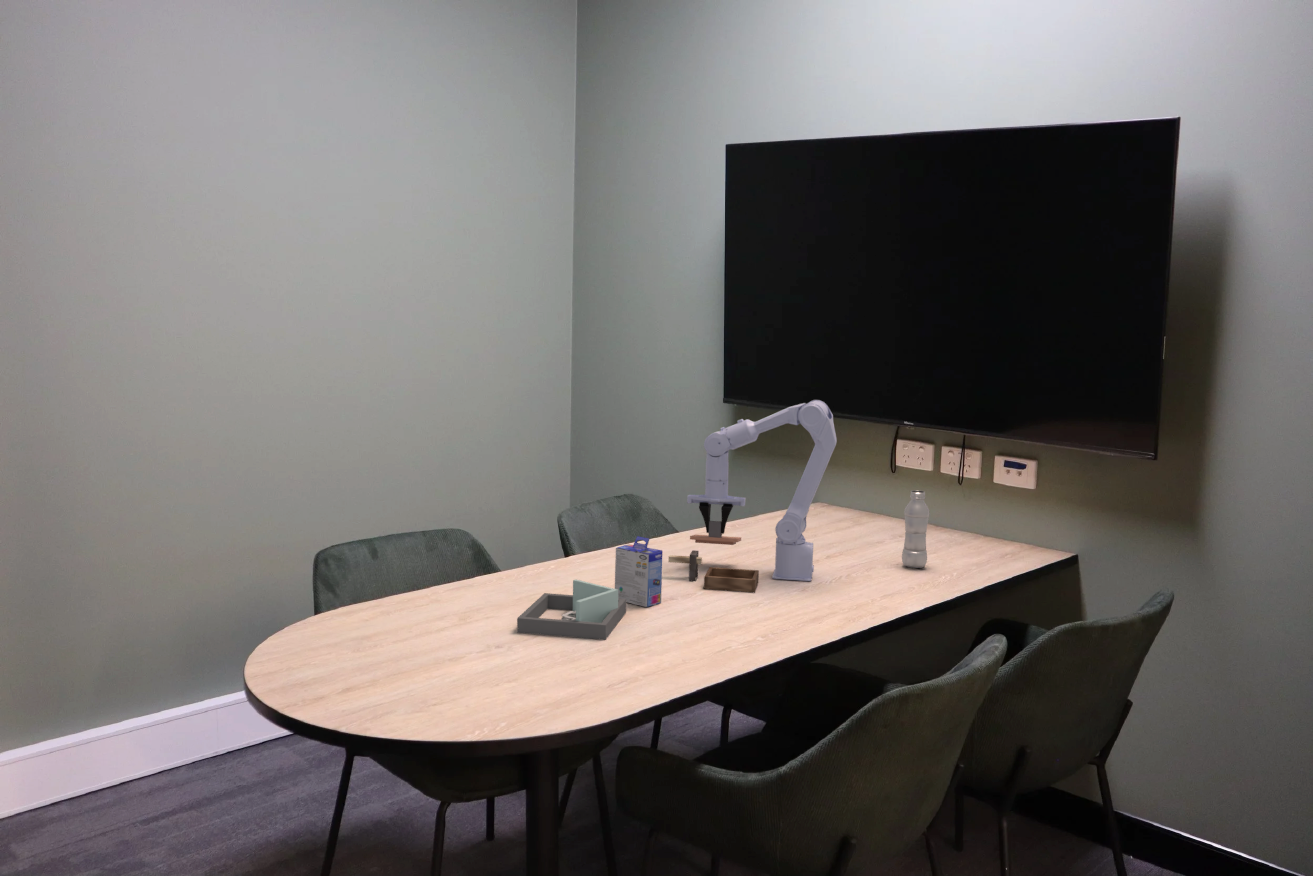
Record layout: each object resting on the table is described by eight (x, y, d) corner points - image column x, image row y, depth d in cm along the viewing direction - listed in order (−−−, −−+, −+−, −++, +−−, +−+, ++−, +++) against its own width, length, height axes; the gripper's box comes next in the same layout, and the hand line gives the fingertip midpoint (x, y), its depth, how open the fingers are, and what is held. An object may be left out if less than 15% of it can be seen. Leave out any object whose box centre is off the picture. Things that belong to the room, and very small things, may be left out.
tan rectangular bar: (701, 562, 244) (701, 557, 244) (700, 564, 243) (701, 558, 243) (669, 560, 246) (669, 555, 246) (668, 562, 244) (668, 556, 244)
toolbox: (758, 581, 244) (759, 554, 243) (754, 592, 234) (755, 565, 233) (691, 576, 247) (692, 550, 246) (685, 587, 237) (685, 560, 236)
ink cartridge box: (663, 603, 224) (664, 539, 223) (647, 608, 220) (649, 544, 218) (628, 594, 230) (629, 533, 228) (613, 600, 226) (614, 537, 224)
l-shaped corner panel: (575, 613, 218) (575, 579, 217) (617, 624, 210) (618, 589, 209) (536, 626, 208) (536, 590, 207) (579, 638, 201) (579, 602, 200)
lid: (741, 543, 258) (742, 521, 258) (737, 545, 249) (738, 523, 249) (695, 540, 260) (696, 519, 260) (689, 542, 251) (690, 520, 251)
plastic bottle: (924, 564, 262) (928, 489, 260) (928, 571, 255) (933, 494, 253) (899, 563, 263) (903, 488, 260) (903, 570, 256) (907, 493, 253)
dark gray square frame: (626, 612, 217) (626, 599, 216) (605, 639, 199) (605, 625, 198) (544, 606, 220) (544, 593, 220) (517, 632, 202) (517, 618, 202)
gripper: (685, 480, 248) (684, 534, 250) (744, 483, 246) (742, 537, 247) (690, 476, 255) (689, 528, 257) (747, 478, 252) (745, 531, 254)
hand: (715, 532), depth 253 cm, fingers closed on lid, 3 cm apart
